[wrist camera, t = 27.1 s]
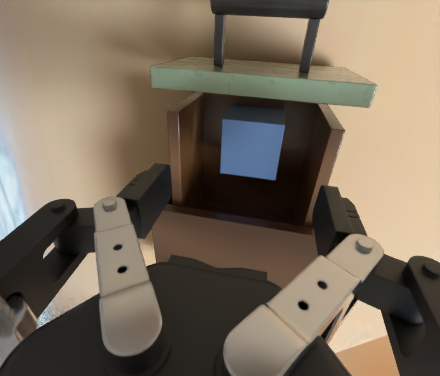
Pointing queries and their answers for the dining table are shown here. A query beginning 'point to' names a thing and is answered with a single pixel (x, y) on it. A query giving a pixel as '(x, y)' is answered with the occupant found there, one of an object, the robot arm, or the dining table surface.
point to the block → (252, 141)
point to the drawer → (258, 97)
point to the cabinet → (234, 242)
